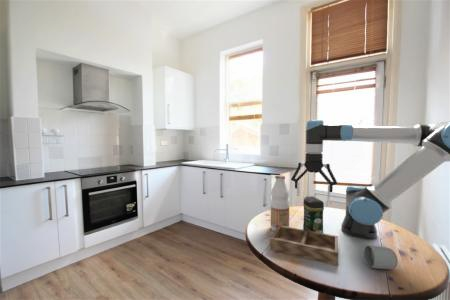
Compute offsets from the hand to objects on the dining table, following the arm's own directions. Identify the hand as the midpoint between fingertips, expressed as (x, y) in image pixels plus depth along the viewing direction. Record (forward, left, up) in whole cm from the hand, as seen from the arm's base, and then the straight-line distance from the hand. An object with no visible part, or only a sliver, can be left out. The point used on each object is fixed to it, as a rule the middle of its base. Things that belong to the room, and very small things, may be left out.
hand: (312, 197), depth 104 cm
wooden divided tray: (+2, +15, -19) cm, 24 cm away
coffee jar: (0, 0, -19) cm, 19 cm away
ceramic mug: (-24, +15, -19) cm, 34 cm away
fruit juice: (+16, 0, -19) cm, 25 cm away
